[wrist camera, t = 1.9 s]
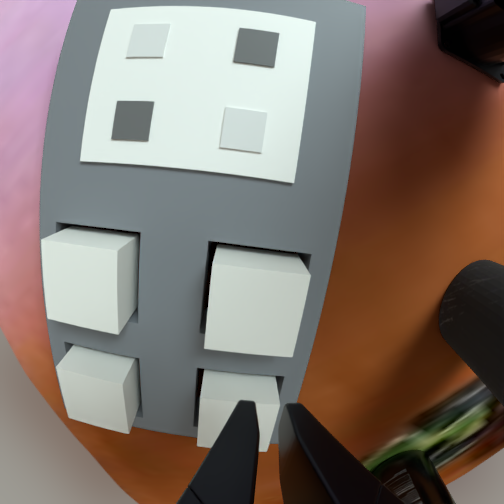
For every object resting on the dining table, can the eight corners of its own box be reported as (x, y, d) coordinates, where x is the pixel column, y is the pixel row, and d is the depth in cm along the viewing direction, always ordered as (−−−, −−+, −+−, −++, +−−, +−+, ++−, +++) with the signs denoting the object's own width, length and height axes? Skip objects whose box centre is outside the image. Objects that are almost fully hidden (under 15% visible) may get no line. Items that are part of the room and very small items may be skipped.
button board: (348, 26, 14) (367, 4, 11) (278, 414, 21) (283, 447, 18) (101, 7, 13) (79, -15, 10) (80, 383, 20) (63, 410, 17)
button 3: (297, 254, 16) (310, 275, 13) (283, 324, 17) (292, 357, 14) (217, 244, 16) (212, 263, 13) (209, 316, 17) (204, 348, 14)
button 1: (139, 234, 15) (117, 250, 12) (137, 306, 16) (118, 334, 13) (72, 225, 15) (41, 239, 12) (74, 294, 16) (47, 318, 13)
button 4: (273, 369, 18) (280, 404, 15) (263, 416, 19) (266, 451, 16) (205, 362, 18) (200, 397, 14) (201, 410, 19) (197, 446, 15)
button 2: (138, 351, 17) (122, 384, 14) (141, 400, 18) (129, 434, 15) (78, 338, 17) (55, 367, 14) (86, 387, 18) (68, 417, 15)
